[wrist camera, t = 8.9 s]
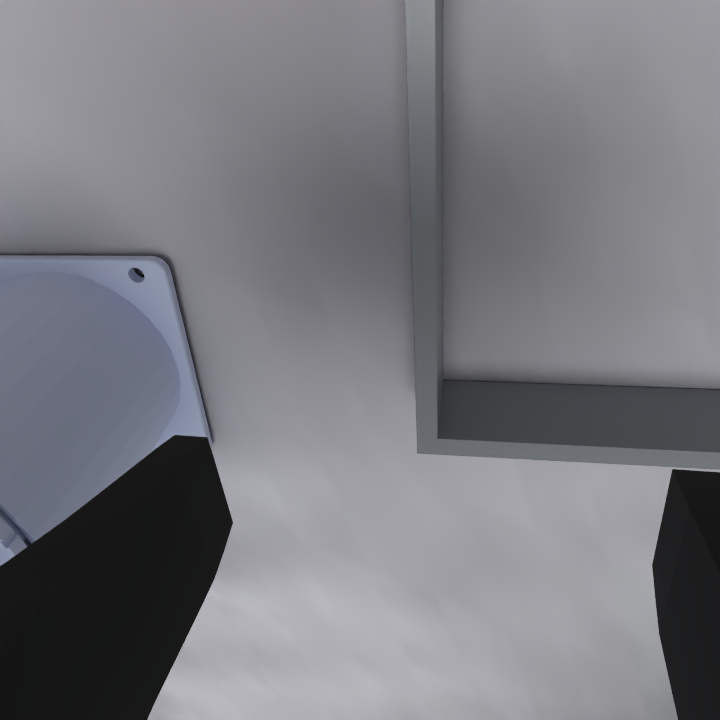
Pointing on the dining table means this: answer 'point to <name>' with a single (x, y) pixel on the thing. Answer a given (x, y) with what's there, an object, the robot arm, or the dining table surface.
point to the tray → (519, 400)
